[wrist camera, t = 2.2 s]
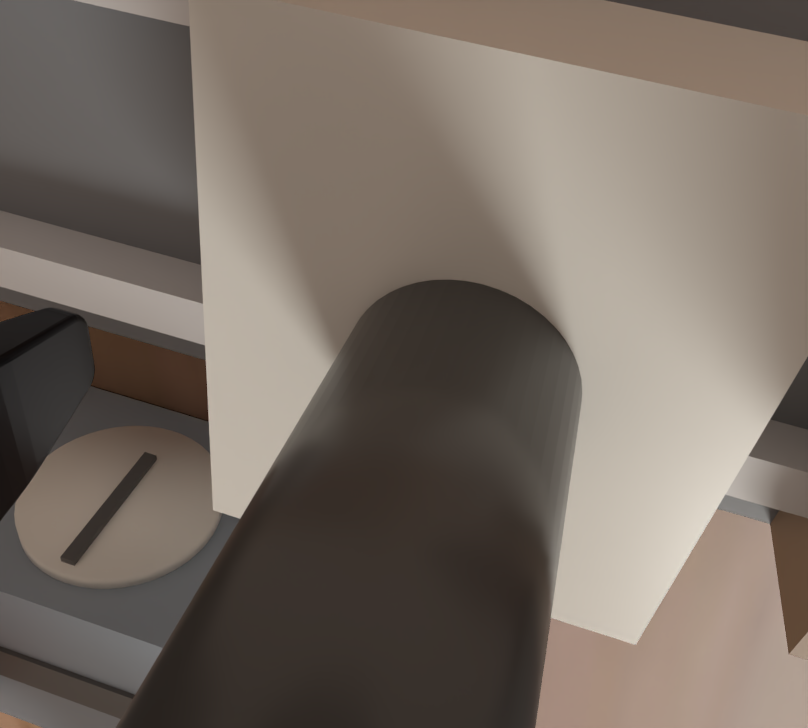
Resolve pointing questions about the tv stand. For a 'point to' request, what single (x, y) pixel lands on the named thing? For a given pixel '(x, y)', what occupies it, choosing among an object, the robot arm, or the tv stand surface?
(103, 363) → the tv stand surface
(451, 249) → the carriage
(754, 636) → the tv stand surface
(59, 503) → the box
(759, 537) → the tv stand surface
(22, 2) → the rail board
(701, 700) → the tv stand surface
